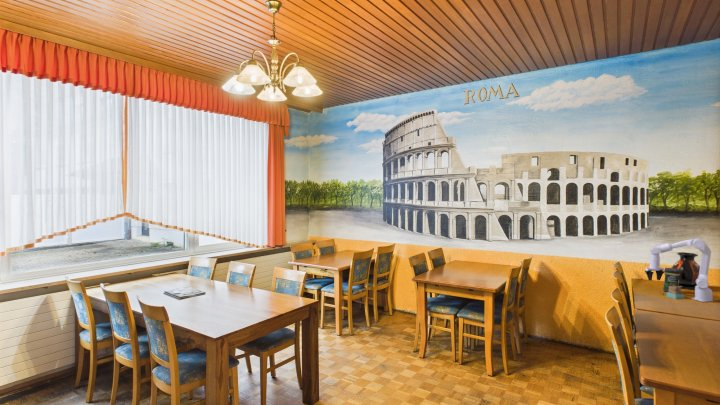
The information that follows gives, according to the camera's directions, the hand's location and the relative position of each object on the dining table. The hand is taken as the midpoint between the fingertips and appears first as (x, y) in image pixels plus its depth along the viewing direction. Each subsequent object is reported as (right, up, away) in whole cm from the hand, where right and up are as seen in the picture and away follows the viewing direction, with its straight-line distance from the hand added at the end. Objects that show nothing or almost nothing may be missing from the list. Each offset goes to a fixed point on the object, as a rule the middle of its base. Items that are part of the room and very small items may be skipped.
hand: (654, 280), depth 285 cm
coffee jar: (+18, -11, +6) cm, 22 cm away
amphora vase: (+42, -11, +20) cm, 48 cm away
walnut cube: (+8, -8, -10) cm, 14 cm away
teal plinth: (+8, -11, -10) cm, 16 cm away
